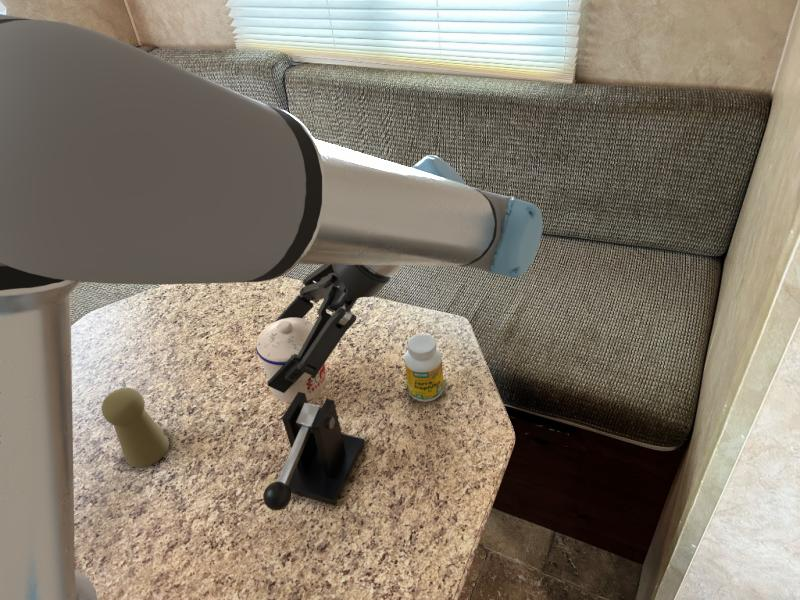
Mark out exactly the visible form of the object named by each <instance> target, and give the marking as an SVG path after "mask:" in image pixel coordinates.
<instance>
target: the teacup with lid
mask: <svg viewBox="0 0 800 600" xmlns="http://www.w3.org/2000/svg"><path fill="white" fill-rule="evenodd" d="M275 321H276V320H275ZM275 321H274V322H272V323H270V324H268V325H267V326H266V327H264V329H263V330H261V332H260V334H259V335H258V337H257V339H256V342H255V343H256V344H255V350H256V354H257V355H258V357H259V358H260V360H261V364H262V367H263V371H264V372H265V376H266V379H267V382H268V381H269V380H270V379H271V378H272V377H273V376H274V374H275V373H276V372H277V371H278V370H279V369H280V368H281V367H282V366H283V365H284V364H285V363H286V362H287V361H288V360H289V359H290V358H291V355H294V354H296V355H298V354H299V352H300V350H301V348H302V346H303V344H304V343H305V341H306V339H307V337H308V335H309V333H310V332H311V330H312V328H313V326H314V324H315V323H313V322H312V321H311V320H309V319H307V318H305V317H303V318H285V319H281V320H278V321H276V322H275ZM328 381H329V373H328V369H327V365H326V362H325V363H324V365H323V366H322V368H321V369H320V371H319V372H318V373H317V375H316V376H315V377H313V376H311V375H309V374H307V373H304V374H303V375H302V376H301V377H300V378H299V379H298V380H297V381H296V382H295V383H294V384H293V385H292V386H291V387H290V388H289V389H288V390H287V391H286V392H285V393H282V392H280V391H278V390H276V389H274V388H271V387H269V388H270V391H271V393H272V395H273V397H275V398H276V399H277V400H279V401H280V402H284V403H288V404H291V403H292V401H293V400H294V398H295V396H296V395H297V393H298V392H302V393H305V395H306V398H307V402H308V401H310V400H312V399H314V398H315V397H318V395H320V394H321V393H322V392H323V391H324V389H325V388H326V386H327V384H328Z"/></svg>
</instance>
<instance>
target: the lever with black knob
mask: <svg viewBox="0 0 800 600" xmlns="http://www.w3.org/2000/svg"><path fill="white" fill-rule="evenodd" d="M321 408H322V406H321V405H317V404H314V403H309V402H308V403H304V405H303V407H302V409H301V412H300V414H299V416H298V418H297V421H296V423H297V425H298V426H299V427H300V430H299V433H298V435H297V437H296V440H295V442H294V444H293V446H292V449H291V448H290V451H289V454H288V456H287V457H286V461H285V463H284V465H283V467H282V468H281V469H282V470H281V472H280V475H279V476H278V479H277V481H273V482H271V483H269V484H268V485H267V486H266V487H265V489H264V491H263V494H262V499H263V503H264V505H265V506H266V507H267V508H268V509H269V510H272V511H276V512H277V511H281V510H284V509H285V508H287V507H288V506H289V504H290V502H291V500H292V493H291V490H290V488H289V486H288V485H289V482H290V480H291V478H292V475H293V473H294V470H295V468H296V466H297V463H298V461H299V459H300V456H301V454H302V452H303V449H304V447H305V444H306V442H307V440H308V437H309V435H310V433H313V430H312V426H311V425H312V423H313V421H314V420H315V418H316V416H317V415H318V413H319V411H320V409H321Z"/></svg>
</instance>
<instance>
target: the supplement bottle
mask: <svg viewBox="0 0 800 600" xmlns="http://www.w3.org/2000/svg"><path fill="white" fill-rule="evenodd" d="M404 367H405V375H406V383H407V391H408V393H409V395H410V396H411V397H412V399H414V400H416V401H418V402H424V403H427V402H432V401H434V400H436V399H438V398H439V397H440V396H441V395H442V394H443V392H444V388H445V386H444V385H445V384H444V373H443V372H444V371H443V370H444V369H443V368H444V367H443V356H442V353H441V350H440V349H439V348H438V347H437V341H436V339H435V337H433V336H432V335H430V334H427V333H418V334H414V335H413V336H411V337H410V338H409V339H408V341H407V351H406V352H405V354H404Z"/></svg>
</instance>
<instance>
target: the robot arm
mask: <svg viewBox="0 0 800 600" xmlns="http://www.w3.org/2000/svg"><path fill="white" fill-rule="evenodd" d="M543 222H544V221H543V214H542V212H541V210H540V208H539V206H537V205H536V204H535V203H532V202H529V201H527V200H522V199H519V198H516V197H515V196H512V195H510V196H509V195H502V194H499V193H496V192H491V191H487V190H483V189H481V188H477V187H474V186H470V185H467V184H466V182H465V180H464V179H463V178H462V177H461V175H460V174H459V172H458V171H457V170H455V168H453V167H452V166H451V165H450V164H449V163H447V161H445V160H444V159H442V158H440V157H438V156H437V155H433V154H428V155H426V156H424V157H422V158H421V159H420V160H419V161H418V162H416V164H415V163H414V165H413V166H412V167H408V166H405V165H401V164H399V163H395V162H391V161H389V160H384V159H383V158H382V159H381V158H378V157H375V156H372V155H368V154H364V153H362V152H359V151H354V150H352V149H349V148H345V147H341V146H339V145H336V144H331V143H328V142H325V141H323V140H318V139H315V138H314V137H313V135H312V134H311V132H310V131H309V130H308V128H307V127H306V125H304V123H303V122H302V121H300V119H298V118H297V117H296V116H294V115H293V114H292V113H289V112H288V111H286V110H284V109H282V108H279V107H277V106H274V105H271V104H269V103H268V104H267V103H265V102H262V101H259V100H256V99H254V98H252V97H249V96H247V95H244V94H242V93H240V92H237V91H235V90H233V89H230V88H228V87H226V86H223V85H222V84H220V83H217V82H214V81H213V80H211V79H208V78H206V77H204V76H202V75H198V74H197V73H194V72H191V71H189V70H188V69H185V68H183V67H181V66H178V65H176V64H175V63H172V62H169V61H167V60H166V59H163V58H161V57H159V56H156V55H154V54H152V53H150V52H148V51H145V50H143V49H141V48H138V47H136V46H134V45H132V44H129V43H128V42H124V41H121V40H119V39H117V38H115V37H112V36H110V35H107V34H104V33H102V32H100V31H97V30H93V29H89V28H86V27H82V26H78V25H75V24H71V23H67V22H62V21H56V20H55V21H54V20H45V19H37V18H36V19H33V18H28V17H27V18H26V17H22V16H21V17H20V16H14V15H8V14H2V13H0V600H98V596H97V595H98V594H97V591H96V588H95V587H94V584H93V583H92V582H91V580H90V579H89V577H87V576H86V575H84V574H83V573H82V572H80V571H79V570H77V569H76V555H75V553H76V552H75V551H76V549H75V499H74V498H75V496H74V495H75V491H74V487H75V486H74V485H75V483H74V429H73V428H74V426H73V425H74V424H73V421H74V419H73V371H72V370H73V369H72V368H73V366H72V365H73V364H72V362H73V361H72V357H73V356H72V308H71V307H72V306H71V305H72V302H71V300H72V298H71V294H72V293H73V292H72V291H73V290H75V289H76V288H77V287H78V286H79V285H80V284H82V283H93V284H113V285H197V284H199V285H200V284H232V283H262V282H269V281H272V280H275V279H278V278H280V277H282V276H284V275H286V274H287V273H289V272H290V271H291V270H293V269H294V268H296V267H297V266H298V265H321V266H320V267H318V268H317V269H315V270H314V271H313V272H311V273H310V274H308V275H307V276H305V278H303V280H302V285H304V286H303V287H301V289H300V290H299V295H297V296H296V297H294V300H293V301H292V302H291V303H290V304H289V305H288V306H287V307H286V308H285V309H284V311H282V313H281V314H279V316H278V317H277V318H276V319H275V320H274V322H276V321H278V320H281V319H285V318H305V317H306V316H307V314H308V313H309V312H310V311H311V310H312V309H313V308H314V303H315V304H317V305H318V304H319V302H320V301H321V300H322V303H321V304H320V306H319V307H318V309H317V315H318V317H317V319H316V320H315V321H314V322H315V323H313V324H314V326H313V328H312V330H311V332H310V333H309V335H308V337H307V339H306V341H305V343H304V344H303V346H302V348H301V350H300V352H299V354H298V355H296V354H294V355H291V358H290V359H289V360H288V361H287V362H286V363H285V364H284V365H283V366H282V367H281V368H280V369H279V370H278V371H277V372H276V373H275V374H274V376H273V377H272V378H271V379H270V380H269V381H268V380H267V384H266V385H267V387H269V388H270V387H271V388H274V389H276V390H278V391H280V392H282V393H285V392H286V391H287V390H288V389H289V388H290V387H291V386H292V385H293V384H294V383H295V382H296V381H297V380H298V379H299V378H300V377H301V376H302V375H303V374H304V373H307V374H309V375H311V376H313V377H315V376H316V375H317V373H318V372H319V371H320V369H321V368H322V366H323V365H324V363H325V364H326V361H327V360H328V359H329V357H330V356H331V354H332V353H333V351H334V350H335V348H336V347H337V346H338V344H339V343H340V341H341V340H342V338H343V337H344V335H345V334H346V332H347V331H348V330H349V329H350V328H351V327H352V326H353V325H354V324H355V322H356V321H357V317H358V316H357V315H355V314H353V313H352V309H353V308H354V306H355V304H356V302H357V301H358V299H361V298H372V297H374V296H376V295H377V294H378V293H379V292H380V291H381V290H382V289H383V288H384V287H385V285H387V284H388V283H389V282H390V280H391V277H394V276H395V275H396V274H397V273H398V272H399V271H400V270H401V269H402V268H403V267H404V266H416V267H417V266H422V267H426V266H427V267H428V266H429V267H460V268H461V267H466V268H474V269H479V270H481V271H485V272H488V274H490V275H495V274H496V275H499V276H503V277H506V278H507V277H508V278H511V279H512V278H515V279H516V278H519V277H521V276H522V275H524V274H525V273H526V272H527V271H528V270H529V268H530V267H531V265H532V263H533V261H534V260H535V257H536V255H537V252H538V250H539V247H540V243H541V240H542V233H543V227H544V223H543ZM327 311H329V312H330V313H332V314H330V313H328V312H327ZM271 388H270V389H271Z"/></svg>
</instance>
